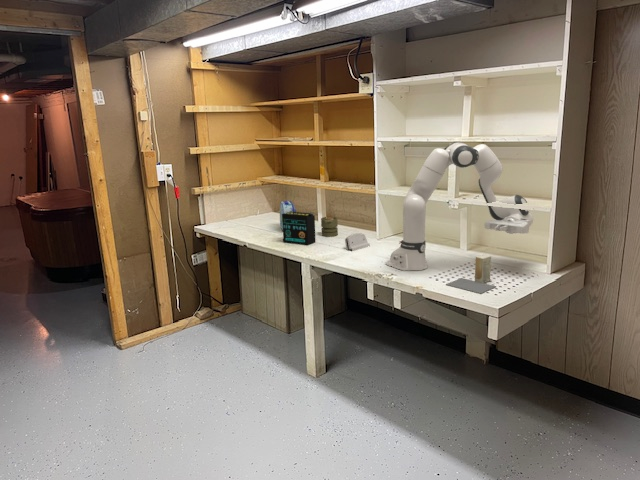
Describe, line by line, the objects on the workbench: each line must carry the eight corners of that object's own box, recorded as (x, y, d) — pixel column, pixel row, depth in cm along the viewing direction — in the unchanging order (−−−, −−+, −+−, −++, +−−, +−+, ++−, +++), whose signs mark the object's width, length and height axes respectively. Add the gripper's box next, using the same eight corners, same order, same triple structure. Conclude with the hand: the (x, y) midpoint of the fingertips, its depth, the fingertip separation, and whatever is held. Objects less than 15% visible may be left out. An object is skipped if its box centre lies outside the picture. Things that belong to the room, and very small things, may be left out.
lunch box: (297, 232, 344) (296, 203, 339) (282, 233, 342) (281, 204, 338) (293, 225, 369) (292, 198, 364) (279, 226, 367) (277, 199, 363)
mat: (445, 285, 222) (445, 284, 222) (461, 278, 230) (461, 277, 230) (481, 294, 209) (481, 293, 209) (496, 287, 217) (496, 286, 217)
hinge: (352, 251, 287) (347, 235, 287) (346, 252, 291) (342, 236, 291) (370, 246, 298) (366, 230, 299) (365, 247, 302) (360, 232, 302)
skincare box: (483, 278, 229) (484, 254, 227) (490, 280, 226) (491, 255, 223) (473, 281, 226) (475, 256, 223) (481, 283, 222) (482, 258, 220)
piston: (336, 219, 324) (320, 219, 325) (337, 236, 326) (320, 237, 328) (337, 216, 335) (321, 216, 336) (338, 233, 337) (322, 233, 339)
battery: (315, 242, 313) (314, 212, 308) (307, 245, 305) (306, 214, 300) (291, 239, 323) (290, 210, 318) (283, 242, 315) (281, 212, 310)
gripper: (492, 215, 244) (478, 220, 235) (532, 220, 229) (518, 225, 220) (492, 228, 245) (477, 232, 237) (531, 233, 230) (517, 238, 222)
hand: (497, 229), depth 228 cm, fingers closed
